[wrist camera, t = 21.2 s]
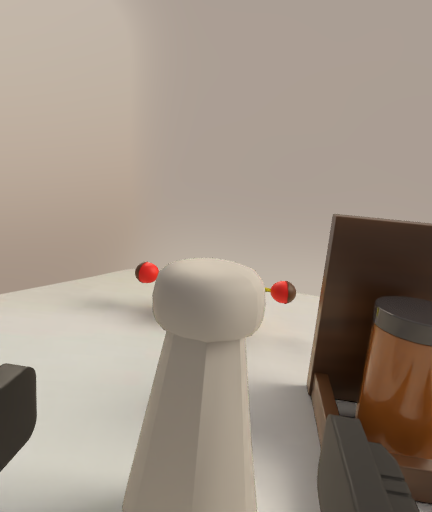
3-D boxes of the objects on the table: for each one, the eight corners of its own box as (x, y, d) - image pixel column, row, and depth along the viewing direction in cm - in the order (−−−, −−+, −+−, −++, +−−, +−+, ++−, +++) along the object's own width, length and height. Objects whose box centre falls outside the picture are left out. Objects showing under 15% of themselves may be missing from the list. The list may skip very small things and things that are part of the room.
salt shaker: (120, 629, 14) (135, 287, 11) (119, 499, 20) (129, 245, 17) (271, 597, 16) (317, 289, 13) (231, 484, 21) (257, 250, 18)
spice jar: (334, 431, 26) (357, 302, 24) (378, 406, 30) (401, 291, 28) (414, 485, 22) (450, 335, 20) (454, 450, 25) (488, 318, 23)
